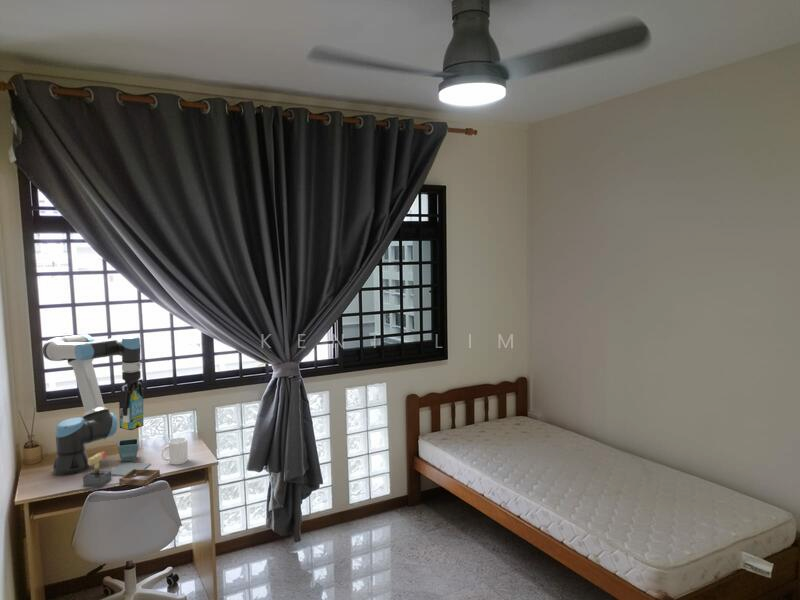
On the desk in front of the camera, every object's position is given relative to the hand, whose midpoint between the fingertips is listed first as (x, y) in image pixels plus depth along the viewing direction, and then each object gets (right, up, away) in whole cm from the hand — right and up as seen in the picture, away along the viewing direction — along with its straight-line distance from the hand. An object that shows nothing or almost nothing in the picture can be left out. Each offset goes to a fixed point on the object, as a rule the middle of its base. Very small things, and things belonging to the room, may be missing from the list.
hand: (132, 418), depth 255 cm
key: (-12, -23, -7) cm, 27 cm away
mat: (-5, -26, +8) cm, 28 cm away
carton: (0, -4, 0) cm, 4 cm away
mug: (+12, -25, +18) cm, 33 cm away
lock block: (-12, -27, -7) cm, 31 cm away
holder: (+5, -27, -3) cm, 28 cm away
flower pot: (-11, -25, +20) cm, 34 cm away
